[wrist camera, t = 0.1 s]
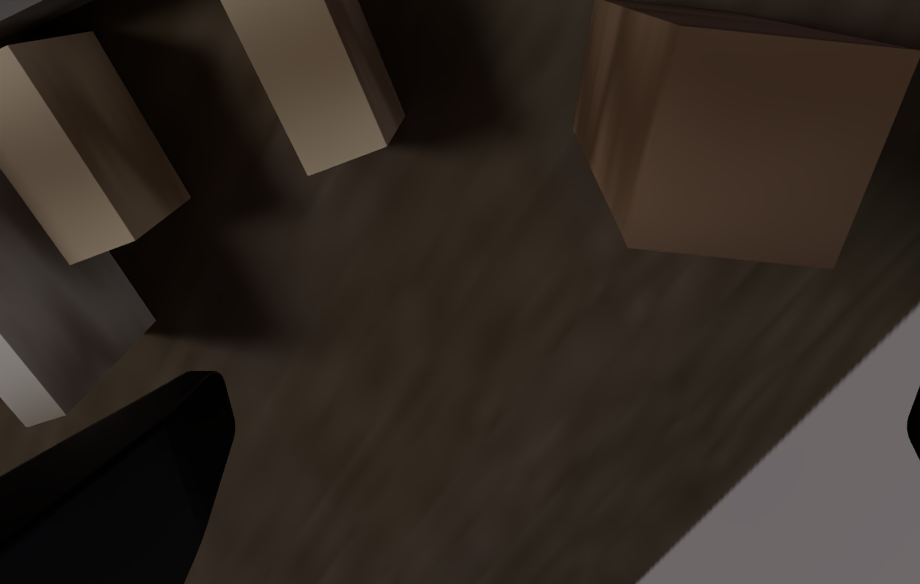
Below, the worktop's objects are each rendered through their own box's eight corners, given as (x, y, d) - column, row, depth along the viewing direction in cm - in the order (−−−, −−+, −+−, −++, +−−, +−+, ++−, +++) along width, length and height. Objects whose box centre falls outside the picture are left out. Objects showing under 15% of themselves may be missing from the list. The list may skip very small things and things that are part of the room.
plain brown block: (691, 141, 21) (833, 269, 12) (572, 128, 21) (628, 248, 12) (725, 10, 19) (922, 50, 10) (595, -3, 19) (680, 25, 10)
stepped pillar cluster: (448, 221, 23) (434, 299, 17) (123, 331, 26) (26, 427, 20) (260, -239, 17) (152, -331, 12) (-133, -27, 20) (-362, -25, 15)
